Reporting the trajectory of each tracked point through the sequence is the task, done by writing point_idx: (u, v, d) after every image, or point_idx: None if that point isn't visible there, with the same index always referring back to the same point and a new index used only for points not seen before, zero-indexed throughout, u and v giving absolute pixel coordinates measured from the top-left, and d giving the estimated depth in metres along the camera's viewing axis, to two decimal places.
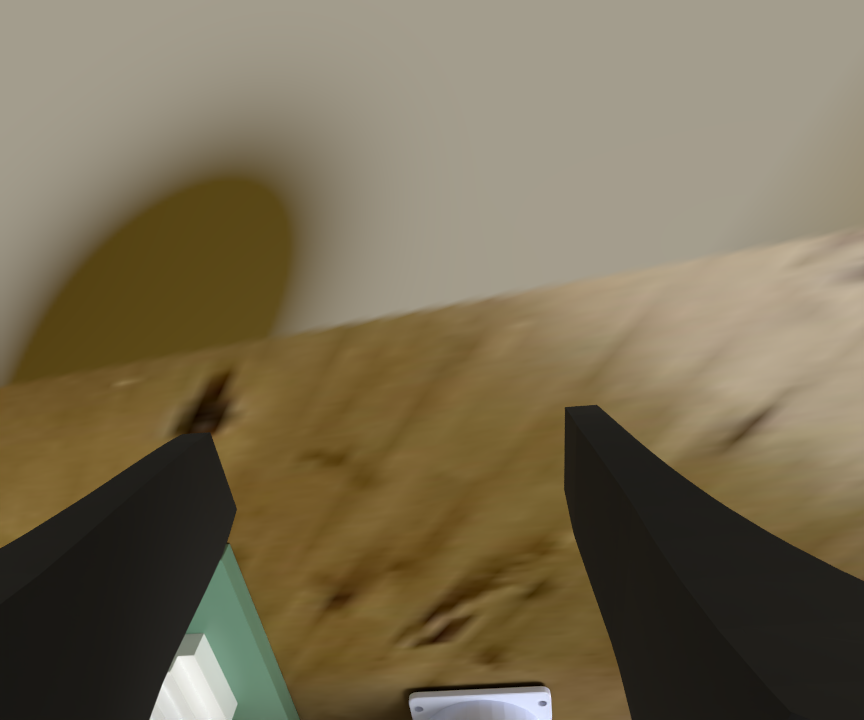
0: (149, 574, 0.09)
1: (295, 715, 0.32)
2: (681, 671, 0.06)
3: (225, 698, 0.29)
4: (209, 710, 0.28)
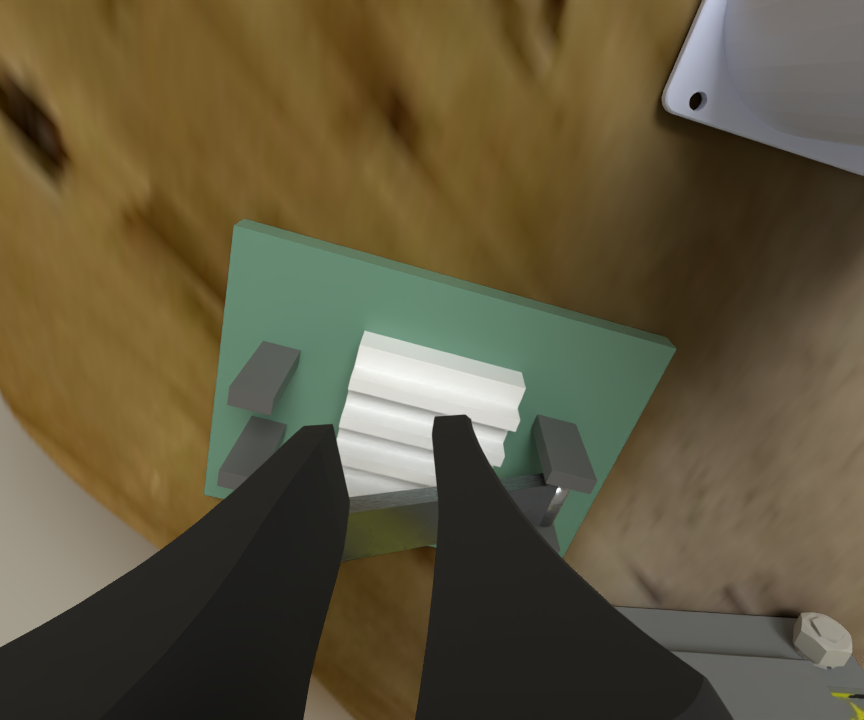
0: (300, 566, 0.09)
1: (610, 323, 0.20)
2: None
3: (483, 370, 0.19)
4: (479, 393, 0.19)
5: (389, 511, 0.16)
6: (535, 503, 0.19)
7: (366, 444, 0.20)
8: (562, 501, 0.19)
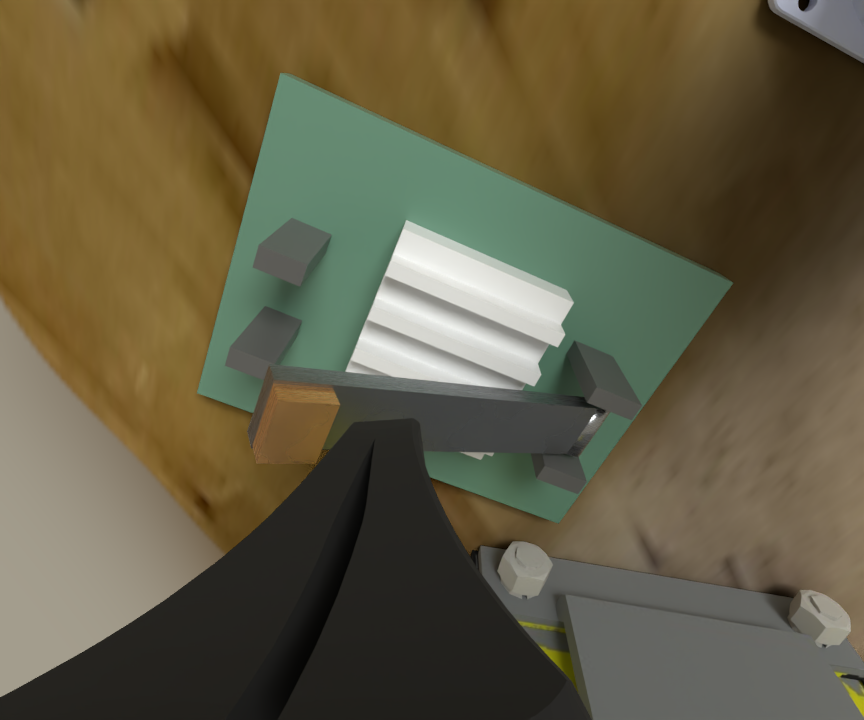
0: None
1: (666, 249, 0.19)
2: None
3: (529, 278, 0.18)
4: (523, 302, 0.18)
5: (427, 398, 0.14)
6: (569, 426, 0.17)
7: (390, 348, 0.18)
8: (596, 429, 0.18)
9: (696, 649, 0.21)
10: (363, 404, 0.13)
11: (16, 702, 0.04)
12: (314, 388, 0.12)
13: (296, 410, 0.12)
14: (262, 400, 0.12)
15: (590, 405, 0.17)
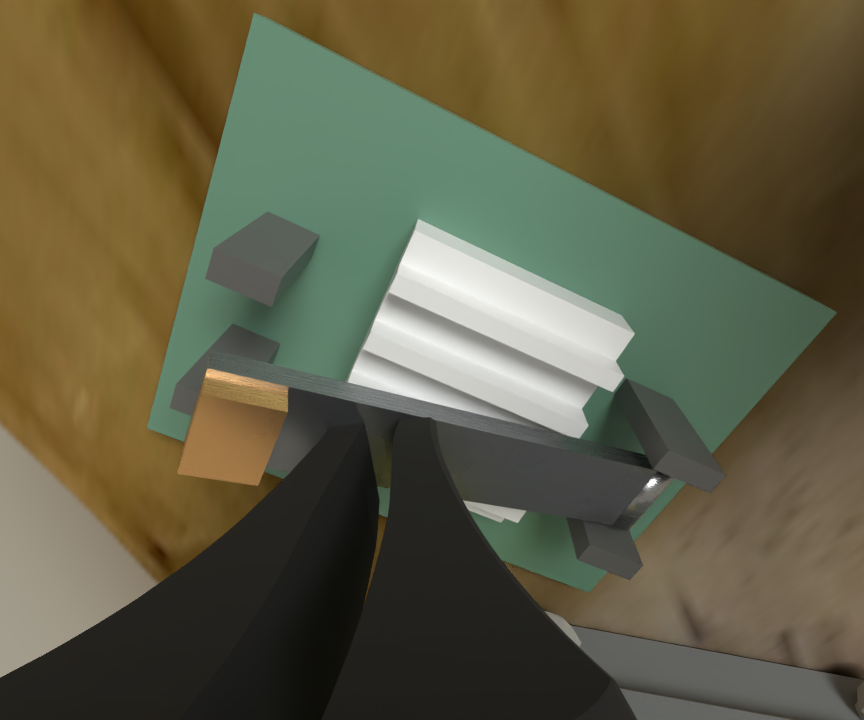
0: (339, 564, 0.08)
1: (750, 266, 0.14)
2: None
3: (576, 300, 0.14)
4: (568, 331, 0.13)
5: None
6: (616, 489, 0.13)
7: (392, 384, 0.14)
8: (653, 498, 0.14)
9: None
10: (330, 418, 0.10)
11: None
12: (262, 387, 0.09)
13: (227, 410, 0.09)
14: (198, 394, 0.10)
15: (647, 465, 0.13)
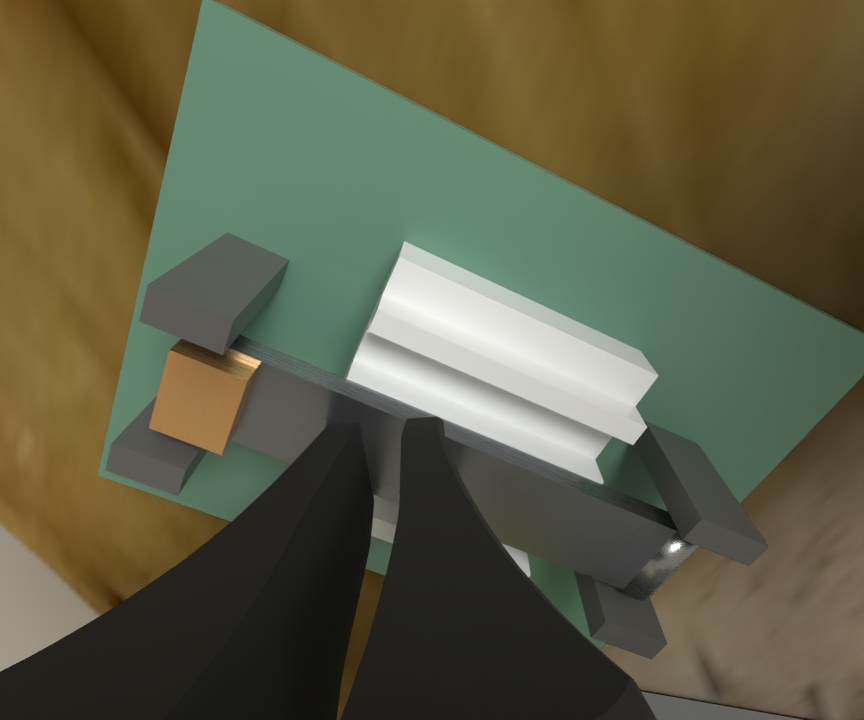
0: (332, 564, 0.08)
1: (788, 294, 0.12)
2: None
3: (590, 336, 0.12)
4: (581, 373, 0.11)
5: (388, 420, 0.10)
6: (625, 544, 0.12)
7: None
8: (672, 565, 0.12)
9: None
10: (299, 400, 0.10)
11: None
12: (233, 357, 0.10)
13: (192, 370, 0.09)
14: None
15: (665, 522, 0.12)
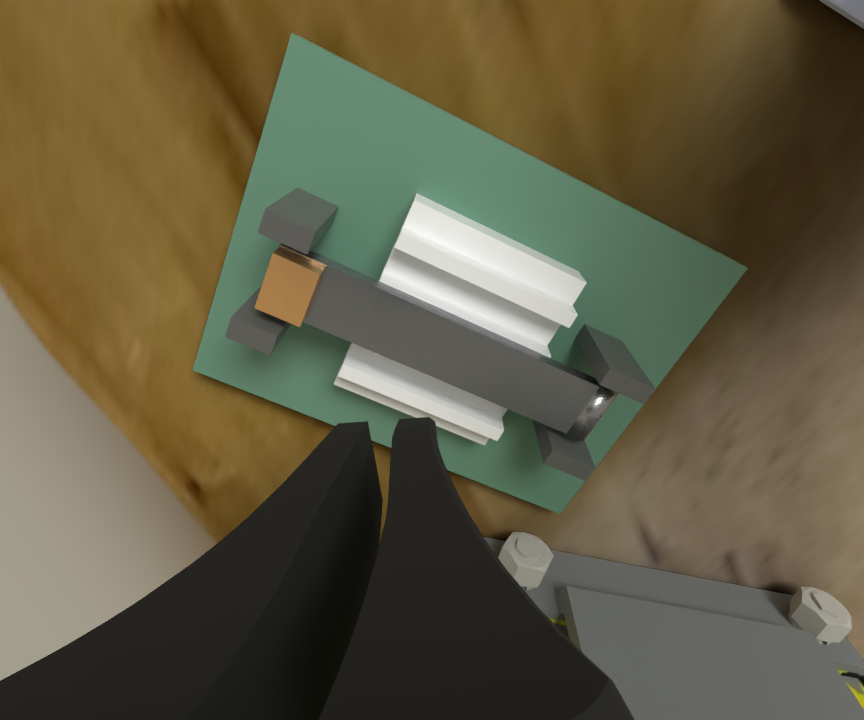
0: (343, 564, 0.08)
1: (680, 232, 0.18)
2: None
3: (541, 257, 0.17)
4: (534, 281, 0.17)
5: (407, 306, 0.16)
6: (565, 397, 0.17)
7: None
8: (597, 412, 0.17)
9: (699, 643, 0.21)
10: (349, 292, 0.16)
11: None
12: (309, 261, 0.15)
13: (285, 267, 0.15)
14: None
15: (592, 382, 0.17)
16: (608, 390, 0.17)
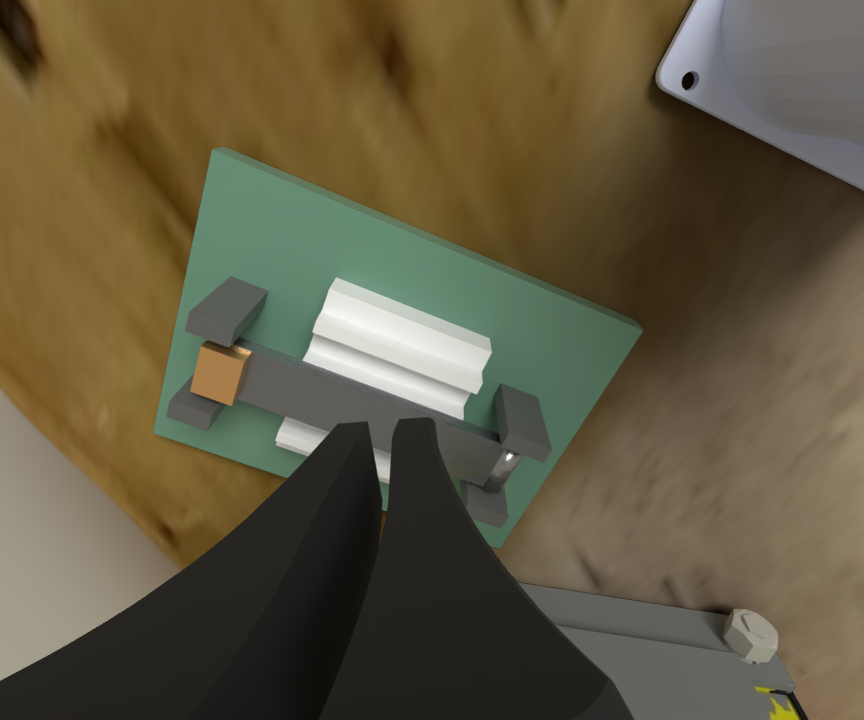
0: (343, 564, 0.08)
1: (581, 299, 0.20)
2: None
3: (451, 330, 0.19)
4: (445, 352, 0.19)
5: (326, 383, 0.18)
6: (477, 456, 0.19)
7: None
8: (507, 468, 0.19)
9: (624, 669, 0.22)
10: (274, 373, 0.18)
11: None
12: (236, 349, 0.17)
13: (213, 357, 0.17)
14: None
15: None
16: None
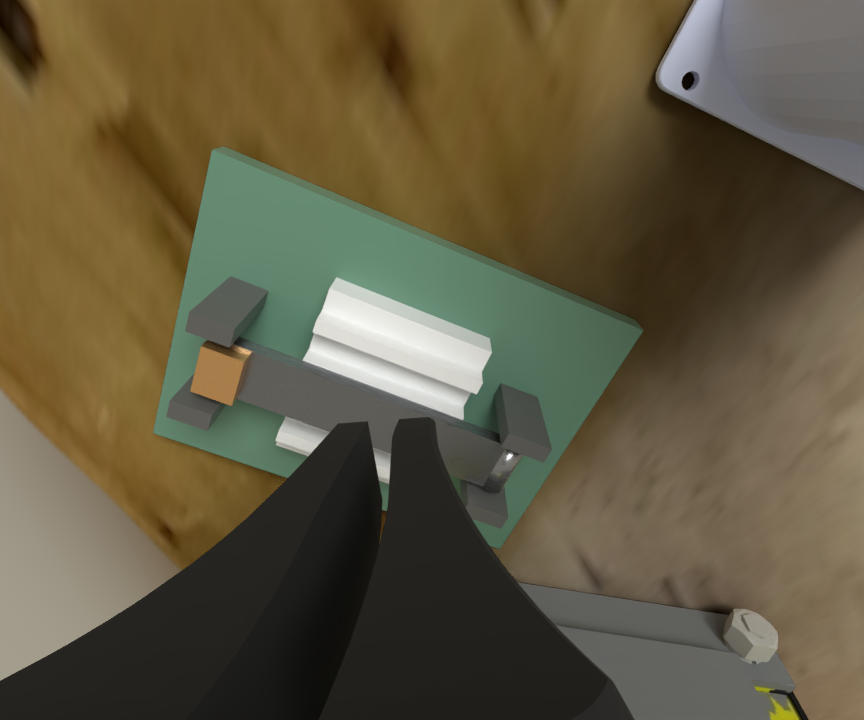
0: (343, 564, 0.08)
1: (581, 299, 0.20)
2: None
3: (451, 330, 0.19)
4: (445, 352, 0.19)
5: (327, 383, 0.18)
6: (477, 456, 0.19)
7: None
8: (507, 468, 0.19)
9: (624, 669, 0.22)
10: (274, 373, 0.18)
11: None
12: (236, 349, 0.17)
13: (213, 357, 0.17)
14: None
15: None
16: None
